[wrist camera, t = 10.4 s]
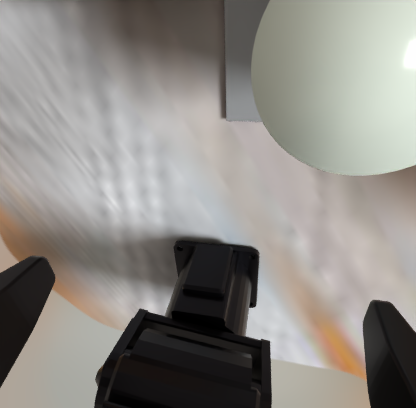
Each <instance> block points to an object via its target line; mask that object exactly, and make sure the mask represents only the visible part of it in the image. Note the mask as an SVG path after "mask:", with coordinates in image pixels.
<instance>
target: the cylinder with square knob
mask: <svg viewBox="0 0 416 408" xmlns="http://www.w3.org/2000/svg"><path fill="white" fill-rule="evenodd" d="M251 83H252V90H253V96H254V100H255V104H256V107H257V110H258V113H259V115H260V117H261V119H262V121H263V124H264V125H265V127H266V128H267V130H268V132H269V133H270V135H271V136H272V137H273V138H274V140H275V141H276V142H277V143H278V144H279V145H280V146H281V147H282V148H283V149H284V150H285V151H286V152H288V153H289V154H290V155H292V156H293V157H295V158H296V159H298V160H299V161H301V162H303V163H305V164H307V165H309V166H311V167H314V168H317V169H319V170H322V171H326V172H330V173H334V174H341V175H350V176H367V175H377V174H384V173H389V172H394V171H398V170H401V169H404V168H408V167H411V166H414V165H416V0H270V1H269V3H268V5H267V8H266V10H265V12H264V14H263V16H262V19H261V22H260V25H259V28H258V30H257V33H256V37H255V42H254V47H253V52H252V62H251Z"/></svg>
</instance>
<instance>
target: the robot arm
mask: <svg viewBox="0 0 416 408" xmlns="http://www.w3.org/2000/svg"><path fill="white" fill-rule="evenodd" d="M179 246H180V247H179ZM181 247H182V248H181ZM174 253H175V259H176V266H177V272H178V281H177V283H176V286H175V289H174V292H173V294H172V297H171V300H170V303H169V305H168V308H167V311H166V314H165V316H162V315H158V314H154V313H150V312H148V310H144V309H139V311H138V312H137V314H136V315H135V317H134V318H132V319H131V321H130V323H129V324H128V326H127V327H126V329H125V331H124V332H123V334H122V336H121V337H120V339H119V341H118V342H117V344H116V345H115V347H114V349H113V350H112V352H111V353H110V355H109V357H108V358H107V360H106V361H105V363H104V365H103V366H102V367H101V368H100V369H99V371H98V373H97V375H96V379H95V380H96V383H97V386H98V390H97V394H96V399H95V406H94V408H271V404H272V403H271V402H272V393H271V359H270V341H268V340H264V339H261V340H258V339H254V338H250V337H246V336H245V335H246V327H247V320H248V312H249V308H253V307H255V306H256V302H257V286H258V269H259V252H258V250H256V249H253V248H245V247H235V246H226V245H217V244H208V243H198V242H189V241H177V242H176V243H175V245H174ZM252 255H254V256H252ZM54 283H55V274H54V272H53V270H52V268H51V266H50V264H49V262H48V260H47V259H46V258H45V257H41V256H30V257H28V258H26V259H24V260H23V261H21V262H19V263H17V264H16V265H14V266H12V267H10V268H8V269H7V270H5V271H3V272H1V273H0V387H1V386H2V384H3V382H4V380H5V379H6V377H7V375H8V373H9V372H10V370H11V368H12V366H13V365H14V363H15V361H16V359H17V358H18V356H19V354H20V352H21V351H22V349H23V347H24V345H25V343H26V342H27V340H28V338H29V336H30V335H31V333H32V331H33V329H34V327H35V325H36V323H37V321H38V318H39V316H40V314H41V312H42V309H43V307H44V305H45V303H46V300H47V298H48V296H49V294H50V292H51V289H52V287H53V285H54ZM363 336H364V349H365V362H366V375H367V386H368V394H369V400H370V406H371V408H416V332H415V331H414V330H413V329H412V327H411V326H410V325H409V324H408V323H407V321H406V320H405V319H404V318H403V316H402V315H401V314H400V313H399V311H398V310H397V309H396V308H395V307H394V305H393V304H392V303H390V302H387V301H380V300H372V301H371V302H370V304H369V307H368V310H367V312H366V315H365V317H364V320H363Z"/></svg>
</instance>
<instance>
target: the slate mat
mask: <svg viewBox="0 0 416 408" xmlns="http://www.w3.org/2000/svg"><path fill="white" fill-rule="evenodd" d="M269 1H270V0H224V16H225V68H226V120H227V121H248V122H263V121H262V119H261V117H260V115H259V113H258V110H257V107H256V104H255V100H254V96H253V90H252V83H251V62H252V52H253V47H254V42H255V37H256V33H257V30H258V28H259V25H260V22H261V19H262V16H263V14H264V12H265V10H266V8H267V5H268V3H269Z"/></svg>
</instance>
